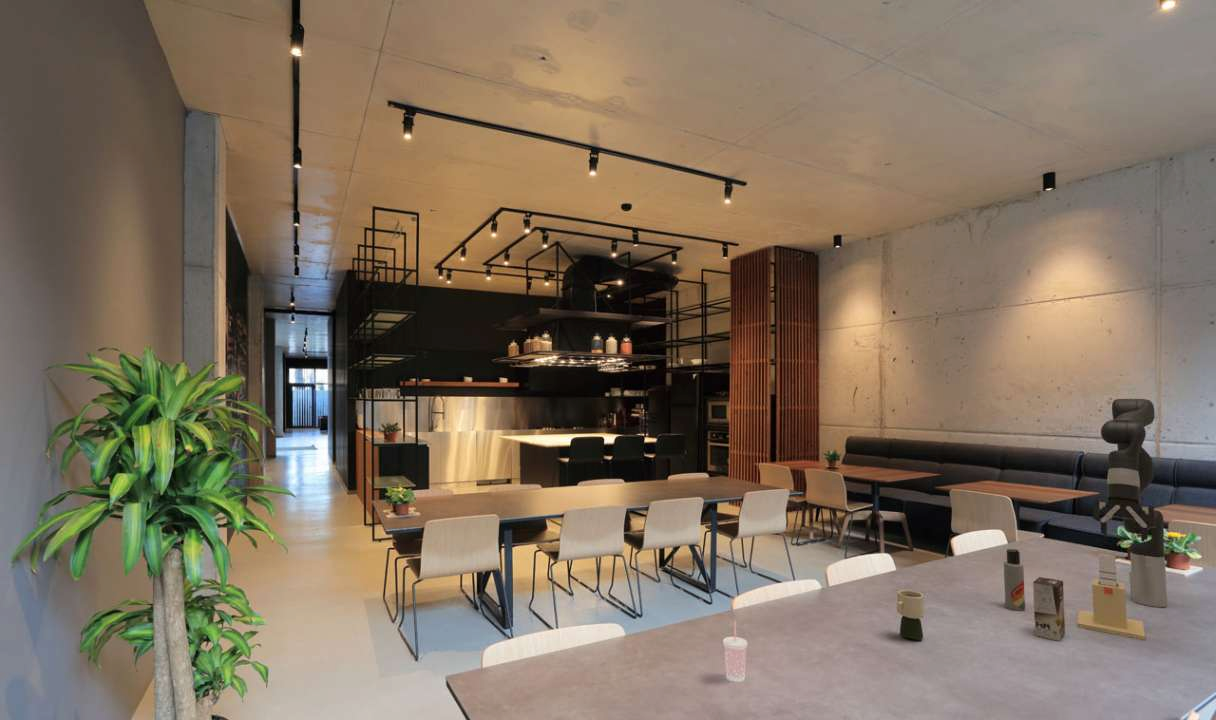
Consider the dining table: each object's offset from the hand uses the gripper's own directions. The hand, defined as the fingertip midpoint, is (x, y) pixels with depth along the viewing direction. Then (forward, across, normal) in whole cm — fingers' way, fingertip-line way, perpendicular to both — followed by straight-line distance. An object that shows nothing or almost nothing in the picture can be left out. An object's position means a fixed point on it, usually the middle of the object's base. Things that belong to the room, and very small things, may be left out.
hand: (1123, 538), depth 178 cm
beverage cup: (+60, +70, +90) cm, 129 cm away
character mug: (+42, +47, +32) cm, 71 cm away
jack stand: (+25, +5, -22) cm, 34 cm away
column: (+23, +5, -21) cm, 32 cm away
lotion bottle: (+27, +30, -20) cm, 45 cm away
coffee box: (+32, +17, 0) cm, 37 cm away
